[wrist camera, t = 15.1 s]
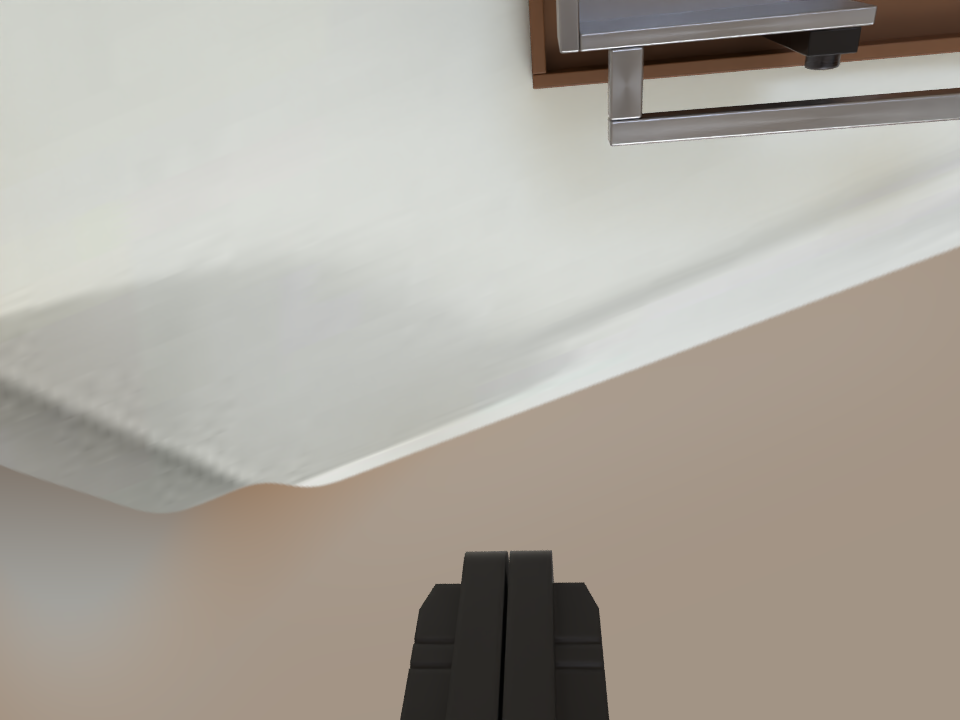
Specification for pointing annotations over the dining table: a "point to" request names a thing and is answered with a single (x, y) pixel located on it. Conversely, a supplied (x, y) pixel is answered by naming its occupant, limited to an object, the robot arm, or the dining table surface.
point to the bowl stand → (820, 45)
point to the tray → (746, 45)
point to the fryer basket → (717, 15)
